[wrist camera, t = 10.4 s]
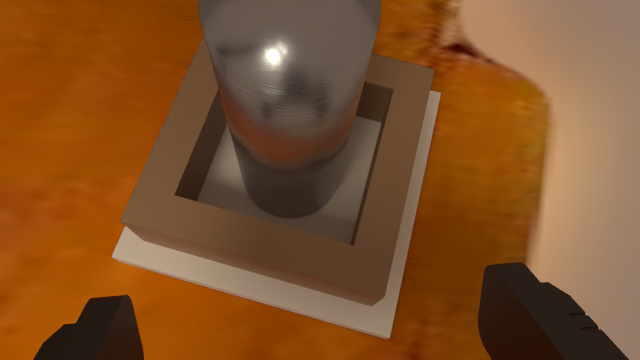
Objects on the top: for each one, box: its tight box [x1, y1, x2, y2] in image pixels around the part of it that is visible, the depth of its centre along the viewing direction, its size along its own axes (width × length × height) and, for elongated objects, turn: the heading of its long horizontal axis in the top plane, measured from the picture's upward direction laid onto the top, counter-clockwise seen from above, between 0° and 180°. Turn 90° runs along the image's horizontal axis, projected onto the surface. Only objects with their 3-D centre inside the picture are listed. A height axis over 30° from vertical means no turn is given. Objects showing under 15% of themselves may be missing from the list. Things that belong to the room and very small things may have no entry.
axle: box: [198, 0, 381, 219], centre depth 17 cm, size 4×4×11 cm
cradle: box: [112, 35, 441, 339], centre depth 21 cm, size 12×12×4 cm
